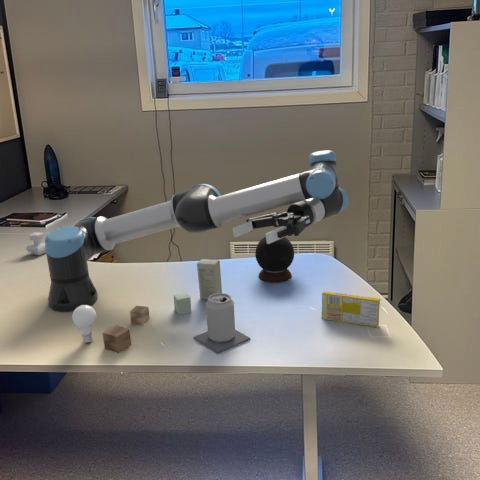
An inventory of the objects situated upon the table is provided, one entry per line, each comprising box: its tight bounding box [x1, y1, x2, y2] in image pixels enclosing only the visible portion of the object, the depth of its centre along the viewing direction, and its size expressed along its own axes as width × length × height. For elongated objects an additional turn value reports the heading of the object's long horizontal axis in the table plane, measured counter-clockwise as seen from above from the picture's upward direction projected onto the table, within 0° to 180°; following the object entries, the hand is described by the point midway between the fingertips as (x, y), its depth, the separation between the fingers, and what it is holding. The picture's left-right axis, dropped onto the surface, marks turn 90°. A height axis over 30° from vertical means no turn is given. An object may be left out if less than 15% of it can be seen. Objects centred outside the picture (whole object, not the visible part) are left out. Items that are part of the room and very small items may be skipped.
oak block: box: [129, 305, 150, 326], centre depth 164 cm, size 4×4×4 cm
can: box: [205, 292, 236, 343], centre depth 151 cm, size 8×8×12 cm
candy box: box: [321, 290, 381, 329], centre depth 159 cm, size 16×2×8 cm, turn 66°
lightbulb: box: [71, 305, 97, 344], centre depth 152 cm, size 6×6×11 cm
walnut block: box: [102, 324, 132, 354], centre depth 151 cm, size 5×5×5 cm
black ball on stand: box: [254, 236, 295, 284], centre depth 190 cm, size 13×13×15 cm
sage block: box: [173, 291, 192, 316], centre depth 170 cm, size 4×4×5 cm
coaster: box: [193, 329, 251, 355], centre depth 153 cm, size 11×11×1 cm
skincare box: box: [196, 258, 223, 300], centre depth 177 cm, size 6×4×12 cm
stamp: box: [25, 231, 46, 256], centre depth 222 cm, size 9×7×8 cm
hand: (249, 235), depth 149 cm, fingers open, 13 cm apart
